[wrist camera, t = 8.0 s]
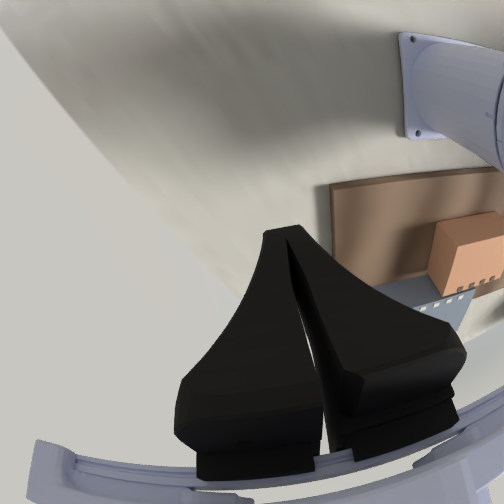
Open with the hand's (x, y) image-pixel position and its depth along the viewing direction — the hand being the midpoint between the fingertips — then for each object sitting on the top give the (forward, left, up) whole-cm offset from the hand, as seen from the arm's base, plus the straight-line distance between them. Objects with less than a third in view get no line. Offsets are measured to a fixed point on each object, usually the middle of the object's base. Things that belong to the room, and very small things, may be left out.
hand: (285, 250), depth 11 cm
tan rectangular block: (-18, +10, -9) cm, 22 cm away
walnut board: (-18, +11, -10) cm, 24 cm away
